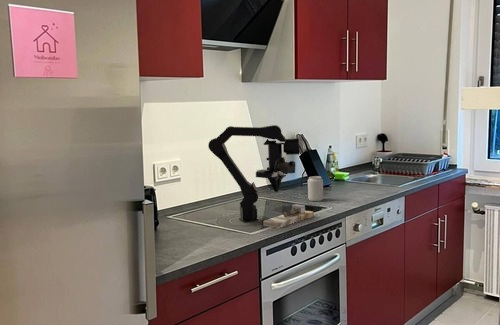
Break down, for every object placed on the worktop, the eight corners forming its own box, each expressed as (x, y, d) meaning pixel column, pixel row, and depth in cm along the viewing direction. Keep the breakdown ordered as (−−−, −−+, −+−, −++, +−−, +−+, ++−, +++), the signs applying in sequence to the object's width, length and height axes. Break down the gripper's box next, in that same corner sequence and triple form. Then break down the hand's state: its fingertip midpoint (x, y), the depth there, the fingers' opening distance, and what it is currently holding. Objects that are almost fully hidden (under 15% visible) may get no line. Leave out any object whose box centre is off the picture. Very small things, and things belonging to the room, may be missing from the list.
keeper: (300, 214, 207) (300, 206, 207) (291, 213, 210) (291, 205, 210) (305, 213, 209) (304, 205, 209) (296, 211, 212) (295, 204, 212)
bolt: (288, 217, 202) (287, 206, 201) (282, 216, 204) (281, 205, 203) (302, 212, 209) (302, 201, 209) (296, 211, 211) (296, 201, 211)
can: (325, 199, 247) (325, 175, 245) (319, 202, 240) (319, 178, 239) (311, 198, 251) (311, 175, 249) (305, 201, 244) (305, 177, 243)
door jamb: (278, 228, 194) (278, 223, 193) (263, 225, 199) (263, 220, 199) (313, 216, 211) (313, 211, 211) (298, 214, 217) (298, 209, 216)
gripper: (273, 158, 193) (275, 197, 195) (304, 153, 206) (305, 190, 208) (254, 157, 201) (255, 194, 203) (284, 152, 214) (285, 188, 216)
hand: (276, 191), depth 207 cm, fingers closed
